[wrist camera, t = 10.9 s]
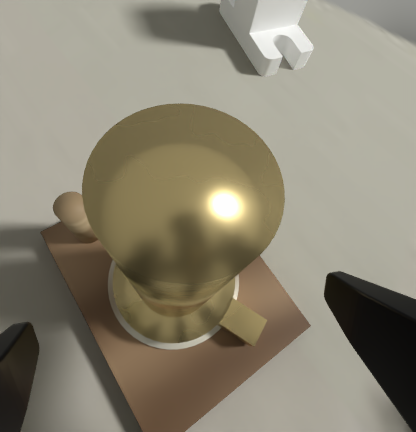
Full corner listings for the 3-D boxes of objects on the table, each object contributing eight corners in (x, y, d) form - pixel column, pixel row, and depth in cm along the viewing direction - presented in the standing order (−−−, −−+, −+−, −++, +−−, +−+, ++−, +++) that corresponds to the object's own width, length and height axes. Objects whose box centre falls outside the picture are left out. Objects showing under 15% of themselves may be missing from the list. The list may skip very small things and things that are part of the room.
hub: (90, 298, 17) (-74, 220, 5) (161, 207, 20) (151, 27, 8) (225, 392, 16) (374, 537, 4) (280, 283, 19) (459, 199, 7)
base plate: (304, 326, 19) (347, 323, 14) (156, 448, 16) (151, 496, 11) (187, 165, 22) (193, 121, 18) (46, 236, 19) (8, 205, 14)
